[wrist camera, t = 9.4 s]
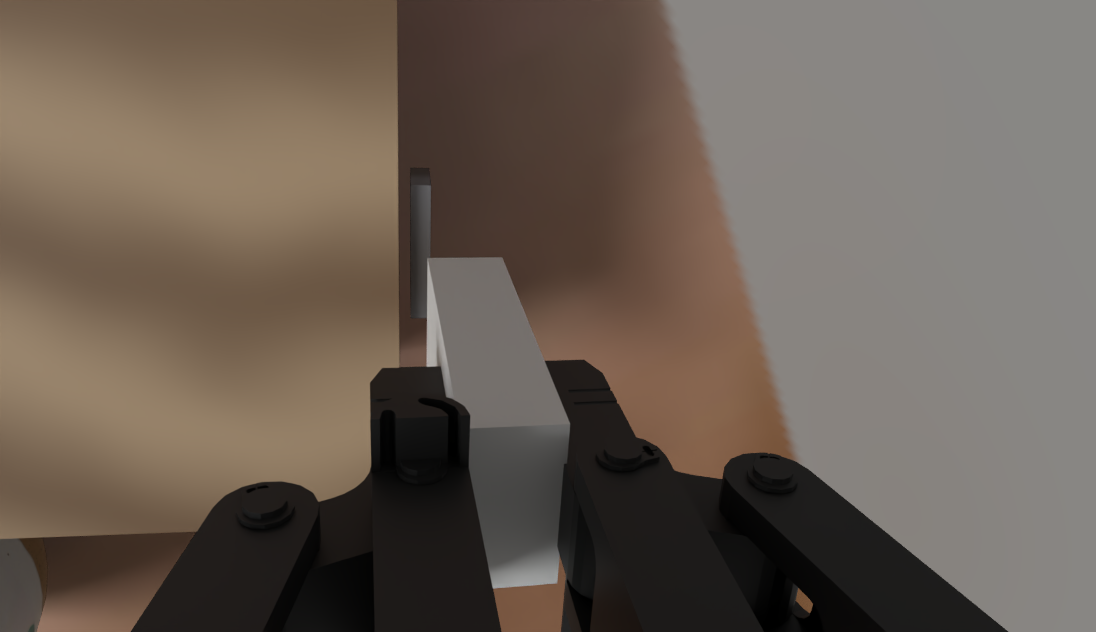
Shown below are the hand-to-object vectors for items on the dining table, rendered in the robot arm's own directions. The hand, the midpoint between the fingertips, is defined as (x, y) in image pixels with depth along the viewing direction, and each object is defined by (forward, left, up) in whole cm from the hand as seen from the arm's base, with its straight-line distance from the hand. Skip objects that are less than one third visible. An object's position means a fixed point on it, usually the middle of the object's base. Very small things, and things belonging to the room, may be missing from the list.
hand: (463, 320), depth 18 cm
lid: (0, -7, -7) cm, 10 cm away
